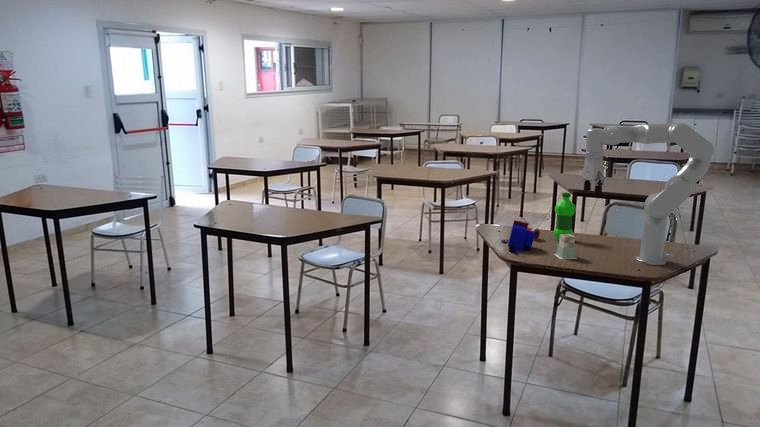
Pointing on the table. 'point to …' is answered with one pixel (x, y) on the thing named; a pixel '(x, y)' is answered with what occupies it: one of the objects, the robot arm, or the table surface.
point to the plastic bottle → (564, 216)
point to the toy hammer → (537, 232)
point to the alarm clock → (520, 237)
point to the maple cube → (566, 240)
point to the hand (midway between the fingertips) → (592, 192)
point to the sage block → (565, 252)
